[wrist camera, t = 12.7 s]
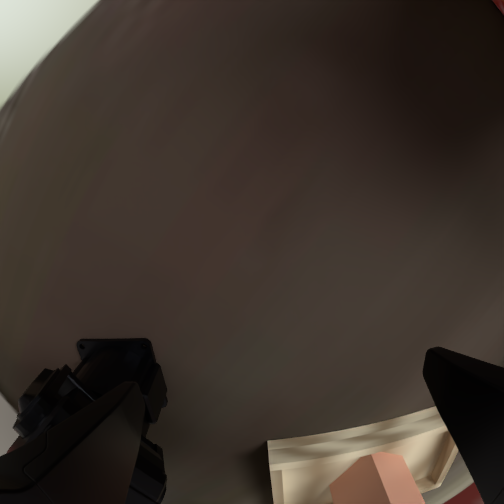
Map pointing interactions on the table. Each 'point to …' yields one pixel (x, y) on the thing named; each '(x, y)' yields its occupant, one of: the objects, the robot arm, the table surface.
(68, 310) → the table surface
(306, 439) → the tray
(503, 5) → the snack box
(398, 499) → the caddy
